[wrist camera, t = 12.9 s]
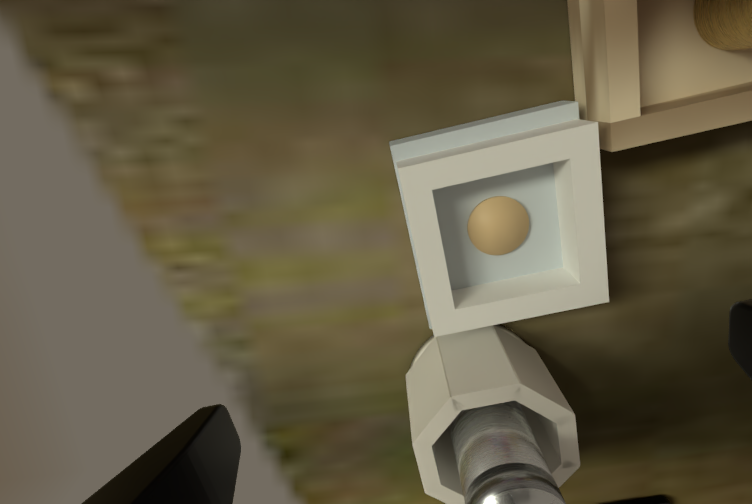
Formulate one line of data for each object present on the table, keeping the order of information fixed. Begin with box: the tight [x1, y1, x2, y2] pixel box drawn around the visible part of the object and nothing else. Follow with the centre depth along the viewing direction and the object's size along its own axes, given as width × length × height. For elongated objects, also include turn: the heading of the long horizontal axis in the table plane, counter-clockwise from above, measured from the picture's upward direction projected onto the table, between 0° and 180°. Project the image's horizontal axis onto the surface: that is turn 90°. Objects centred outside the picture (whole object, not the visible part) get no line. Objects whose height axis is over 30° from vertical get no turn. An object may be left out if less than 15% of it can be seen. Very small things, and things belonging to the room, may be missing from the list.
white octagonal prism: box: [406, 325, 580, 504], centre depth 20 cm, size 6×6×5 cm
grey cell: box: [449, 401, 566, 504], centre depth 18 cm, size 3×3×8 cm
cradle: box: [389, 101, 609, 337], centre depth 18 cm, size 8×7×3 cm
